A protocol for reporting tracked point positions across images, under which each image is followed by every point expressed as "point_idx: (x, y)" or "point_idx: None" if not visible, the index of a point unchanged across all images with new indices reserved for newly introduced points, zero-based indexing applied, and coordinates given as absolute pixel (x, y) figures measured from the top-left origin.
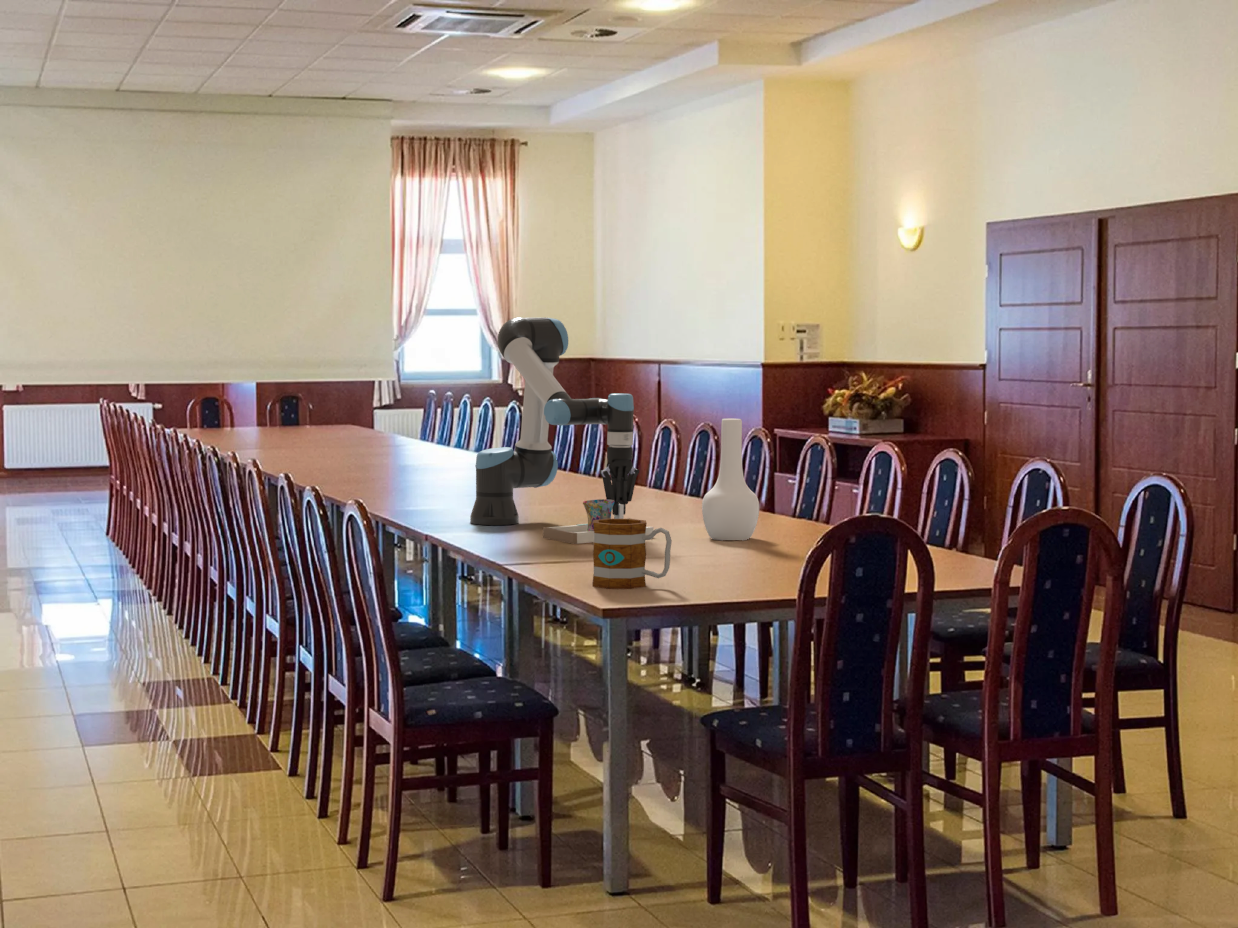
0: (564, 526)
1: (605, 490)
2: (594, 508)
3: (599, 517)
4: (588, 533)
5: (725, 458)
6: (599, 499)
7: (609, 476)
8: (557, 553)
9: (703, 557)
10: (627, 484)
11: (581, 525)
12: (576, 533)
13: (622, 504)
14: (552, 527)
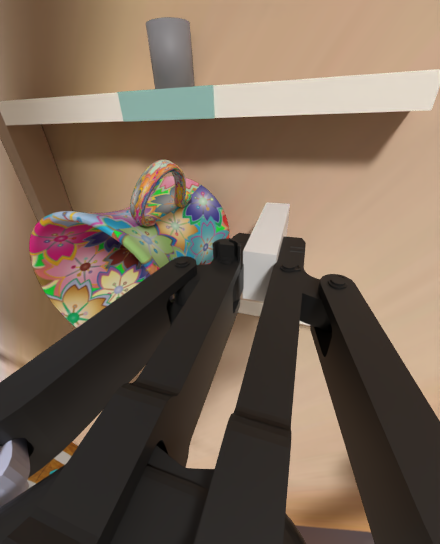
0: (63, 113)
1: (118, 307)
2: (87, 302)
3: (130, 287)
4: None
5: None
6: (123, 244)
7: (40, 463)
8: (40, 330)
9: (215, 462)
10: (363, 403)
11: (136, 120)
12: None
13: (262, 301)
14: (17, 119)
